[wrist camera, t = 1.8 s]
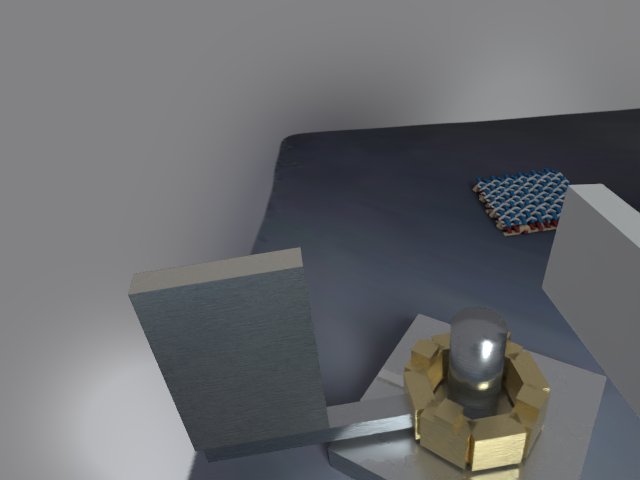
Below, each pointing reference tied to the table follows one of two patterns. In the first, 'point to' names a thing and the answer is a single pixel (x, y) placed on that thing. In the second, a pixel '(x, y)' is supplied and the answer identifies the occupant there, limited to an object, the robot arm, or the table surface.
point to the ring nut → (304, 370)
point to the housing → (476, 408)
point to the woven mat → (524, 200)
